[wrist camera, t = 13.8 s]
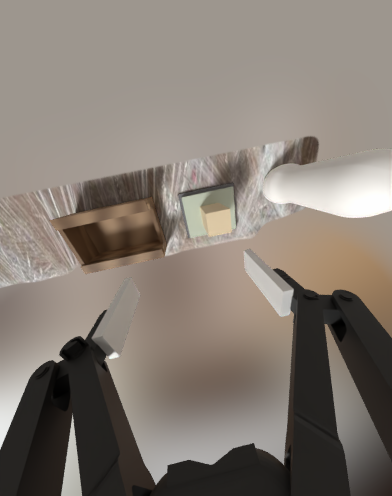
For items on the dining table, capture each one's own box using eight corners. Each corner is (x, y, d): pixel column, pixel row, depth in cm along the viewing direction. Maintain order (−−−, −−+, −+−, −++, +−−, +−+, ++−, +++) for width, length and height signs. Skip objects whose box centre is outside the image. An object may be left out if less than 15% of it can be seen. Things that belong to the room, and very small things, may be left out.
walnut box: (101, 258, 37) (85, 274, 31) (75, 213, 32) (49, 220, 25) (167, 244, 37) (164, 257, 31) (152, 196, 32) (144, 200, 26)
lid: (190, 236, 36) (193, 253, 28) (181, 197, 32) (181, 202, 23) (234, 227, 36) (251, 240, 28) (231, 186, 32) (250, 187, 24)
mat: (188, 237, 37) (188, 238, 37) (178, 194, 32) (178, 194, 32) (235, 227, 37) (236, 227, 37) (232, 182, 32) (233, 182, 32)
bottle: (299, 180, 33) (797, 172, 6) (274, 208, 36) (560, 288, 9) (279, 156, 31) (979, -28, 4) (253, 188, 33) (571, 213, 6)
